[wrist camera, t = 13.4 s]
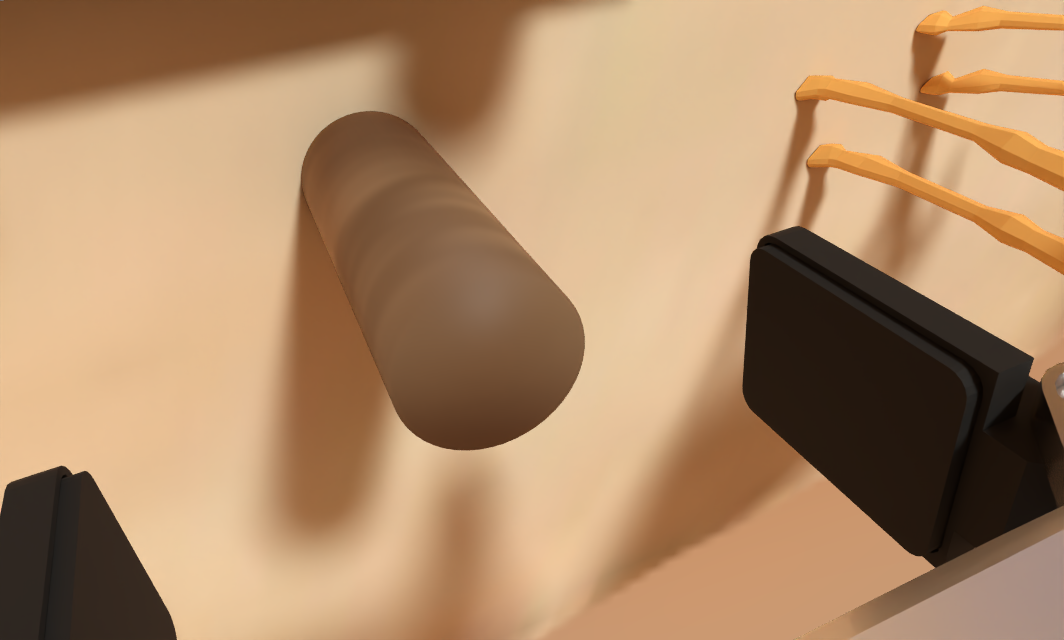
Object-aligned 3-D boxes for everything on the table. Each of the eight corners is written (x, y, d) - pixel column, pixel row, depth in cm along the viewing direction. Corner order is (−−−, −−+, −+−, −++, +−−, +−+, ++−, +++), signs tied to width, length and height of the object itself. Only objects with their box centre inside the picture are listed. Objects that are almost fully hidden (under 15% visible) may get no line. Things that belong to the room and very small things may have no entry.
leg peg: (422, 97, 17) (578, 249, 11) (444, 220, 19) (590, 413, 13) (285, 128, 17) (369, 311, 10) (320, 253, 18) (411, 476, 12)
